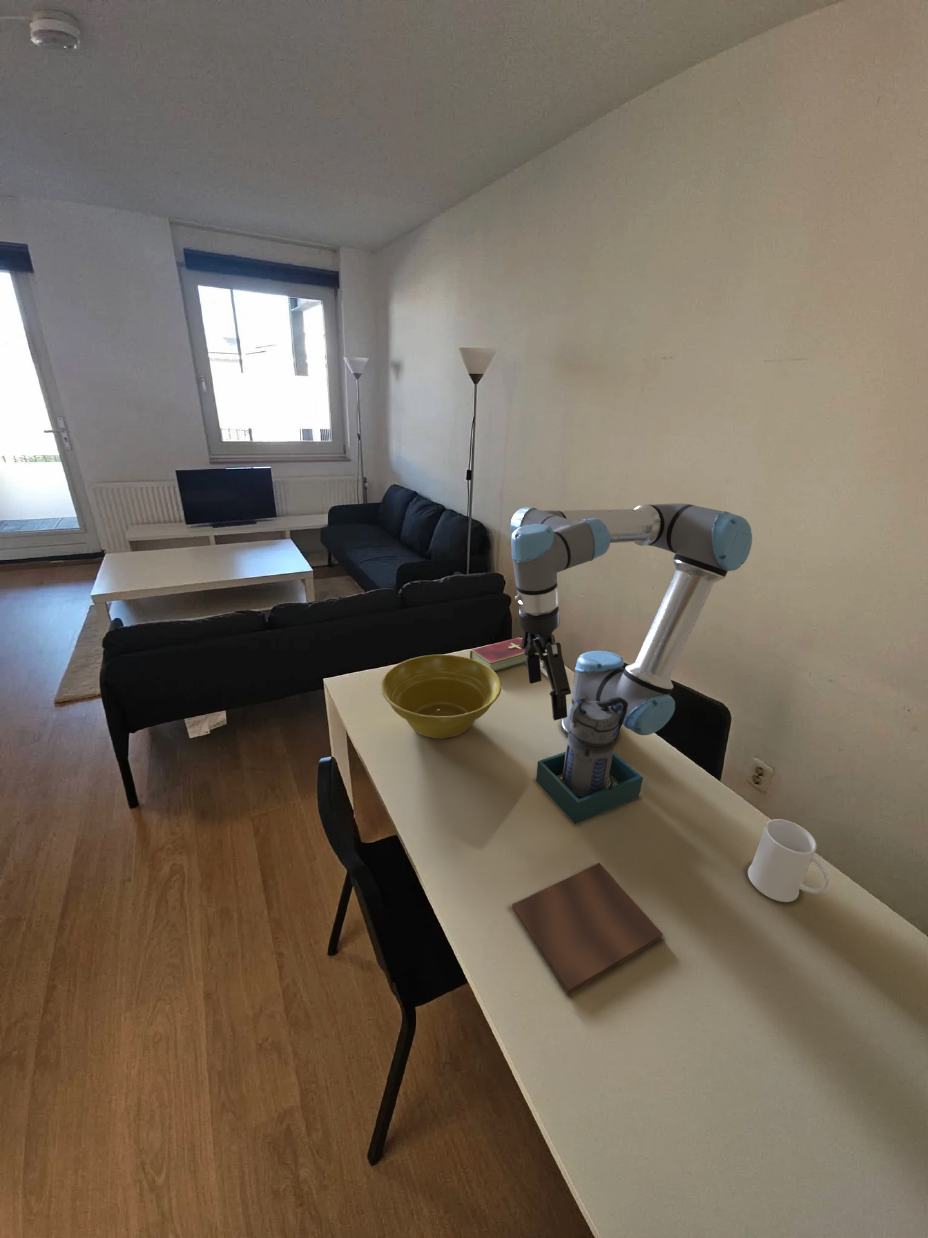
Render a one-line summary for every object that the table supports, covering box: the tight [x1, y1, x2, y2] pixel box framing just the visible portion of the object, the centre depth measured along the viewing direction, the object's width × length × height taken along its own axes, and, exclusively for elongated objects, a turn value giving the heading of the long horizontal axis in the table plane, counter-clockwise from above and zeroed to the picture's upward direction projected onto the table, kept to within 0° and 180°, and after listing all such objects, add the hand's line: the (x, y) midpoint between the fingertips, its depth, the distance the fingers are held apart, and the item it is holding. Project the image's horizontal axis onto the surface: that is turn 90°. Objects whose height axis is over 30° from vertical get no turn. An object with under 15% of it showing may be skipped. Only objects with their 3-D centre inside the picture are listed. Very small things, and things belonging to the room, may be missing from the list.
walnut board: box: [511, 862, 664, 996], centre depth 88 cm, size 20×16×1 cm
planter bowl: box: [380, 654, 502, 739], centre depth 138 cm, size 32×32×13 cm
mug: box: [747, 818, 830, 903], centre depth 93 cm, size 12×8×12 cm
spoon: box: [525, 660, 549, 679], centre depth 169 cm, size 5×18×1 cm, turn 25°
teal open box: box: [535, 751, 644, 825], centre depth 117 cm, size 19×15×9 cm
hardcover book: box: [469, 636, 538, 673], centre depth 175 cm, size 12×21×4 cm, turn 123°
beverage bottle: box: [561, 697, 628, 799], centre depth 113 cm, size 10×13×25 cm
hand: (547, 698), depth 105 cm, fingers open, 13 cm apart
